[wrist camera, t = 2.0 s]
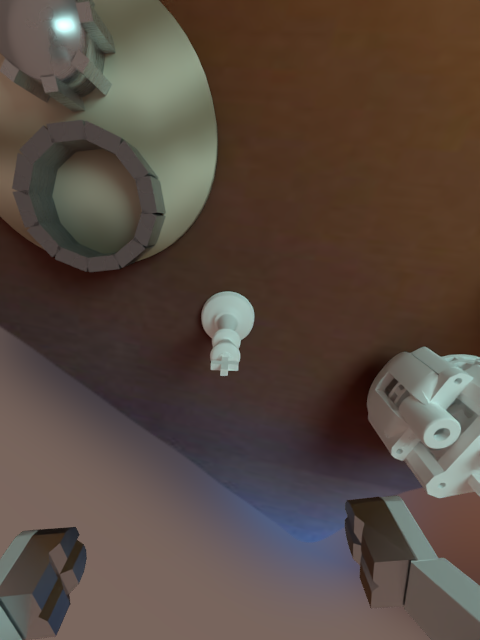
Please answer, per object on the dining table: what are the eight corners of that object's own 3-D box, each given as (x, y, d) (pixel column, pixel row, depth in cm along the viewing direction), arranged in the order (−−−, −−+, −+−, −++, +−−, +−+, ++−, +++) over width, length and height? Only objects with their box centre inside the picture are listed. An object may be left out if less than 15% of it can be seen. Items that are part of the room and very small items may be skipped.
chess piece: (252, 342, 27) (262, 408, 18) (201, 340, 27) (183, 406, 17) (255, 292, 25) (268, 335, 16) (201, 290, 25) (181, 332, 16)
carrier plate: (-77, -2, 18) (-112, -28, 16) (198, -38, 18) (194, -68, 16) (24, 272, 24) (7, 277, 22) (231, 250, 24) (230, 252, 22)
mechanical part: (424, 440, 31) (529, 561, 20) (333, 402, 29) (394, 513, 18) (495, 358, 28) (667, 450, 17) (397, 310, 26) (519, 377, 15)
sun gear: (-6, -11, 17) (-56, -58, 14) (100, -25, 16) (72, -75, 14) (32, 116, 19) (-4, 98, 16) (126, 105, 19) (107, 85, 16)
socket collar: (20, 141, 19) (-10, 130, 17) (150, 125, 19) (138, 112, 17) (62, 271, 22) (42, 277, 20) (174, 258, 22) (167, 263, 20)
